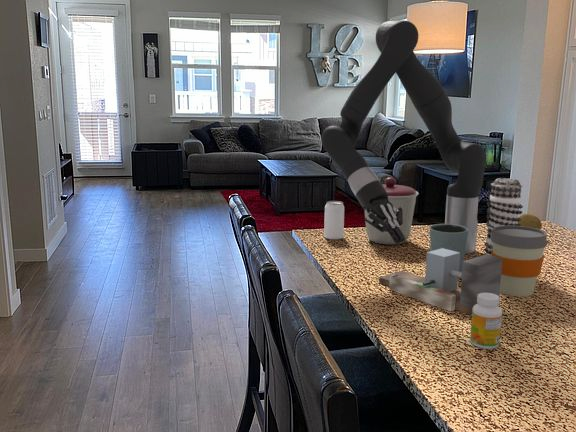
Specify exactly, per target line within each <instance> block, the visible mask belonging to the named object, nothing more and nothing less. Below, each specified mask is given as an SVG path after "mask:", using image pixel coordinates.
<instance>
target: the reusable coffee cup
mask: <svg viewBox="0 0 576 432" xmlns="http://www.w3.org/2000/svg"><path fill="white" fill-rule="evenodd" d="M547 237H548V235H547V232H546V231H544V230H542V229H541V230H539V229H536V228H531V227H524V226H497V227H495V228H493V232H492V237H491V241H492V244H493V250H492V251H491V256H495V257H499V258H503V259H502V270H501V281H500V292H499V294H503V295H506V296H512V297H529V296H532V295H534V291H535V287H536V284H537V279H538V276H540V275H541V272H542V271H541V270H542V267H543V263H544V260H545V255H544V252H545V248H546V247H547V244H548V242H547V239H548V238H547Z"/></svg>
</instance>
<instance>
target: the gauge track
mask: <svg viewBox="0 0 576 432" xmlns="http://www.w3.org/2000/svg"><path fill="white" fill-rule="evenodd" d="M502 259H503V258H499V257H495V256H491V255H487V254H486V255H484V254H483V255H481V256H476V257H473V258H470V259H467V260H464V261H463V270H462V278H461V285H460V288H459V287H458V289H457V290H454V291H451V292H448V291H445V290H442V289H439V288H436V287H433V286H430V285H427V286H423V283H424V282H425V276H421V275H418V274H414V273H411V272H408V271H405V270H399V271H396V272H393V273H389V274H386V275H382V276H379V277H378V279H379V280H378V283H379V284H380V285H381V284H382V285H385V286H387V287H388V288H389V291H392V292H394V293H395V292H396V293H398V294H401V295H404V296H406V297H409V298H412V299H415V300H418V301H420V302H423V303H426V304H429V305H432V306H435V307H438V308H440V309H443V310H446V311H449V312H453V311H455V310H456V311H459V312H462V313H464V314H466V315H469V316H472V310H473V307H474V305H476V304H478V303H477V296H478V294H479V293H492V294H496V295H498V296H499V297H500V281H501V270H502Z"/></svg>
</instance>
